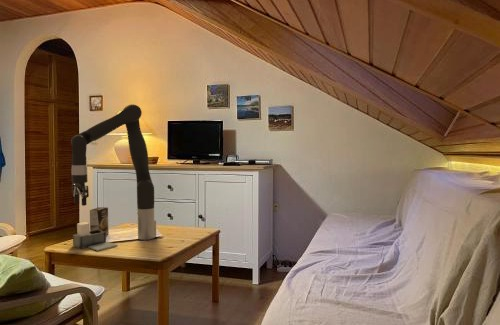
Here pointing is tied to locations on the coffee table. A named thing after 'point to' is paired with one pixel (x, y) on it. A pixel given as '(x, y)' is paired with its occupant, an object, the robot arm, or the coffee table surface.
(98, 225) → the coffee box
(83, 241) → the grey rectangular bin
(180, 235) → the coffee table surface
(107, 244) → the rubber mat
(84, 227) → the square peg
